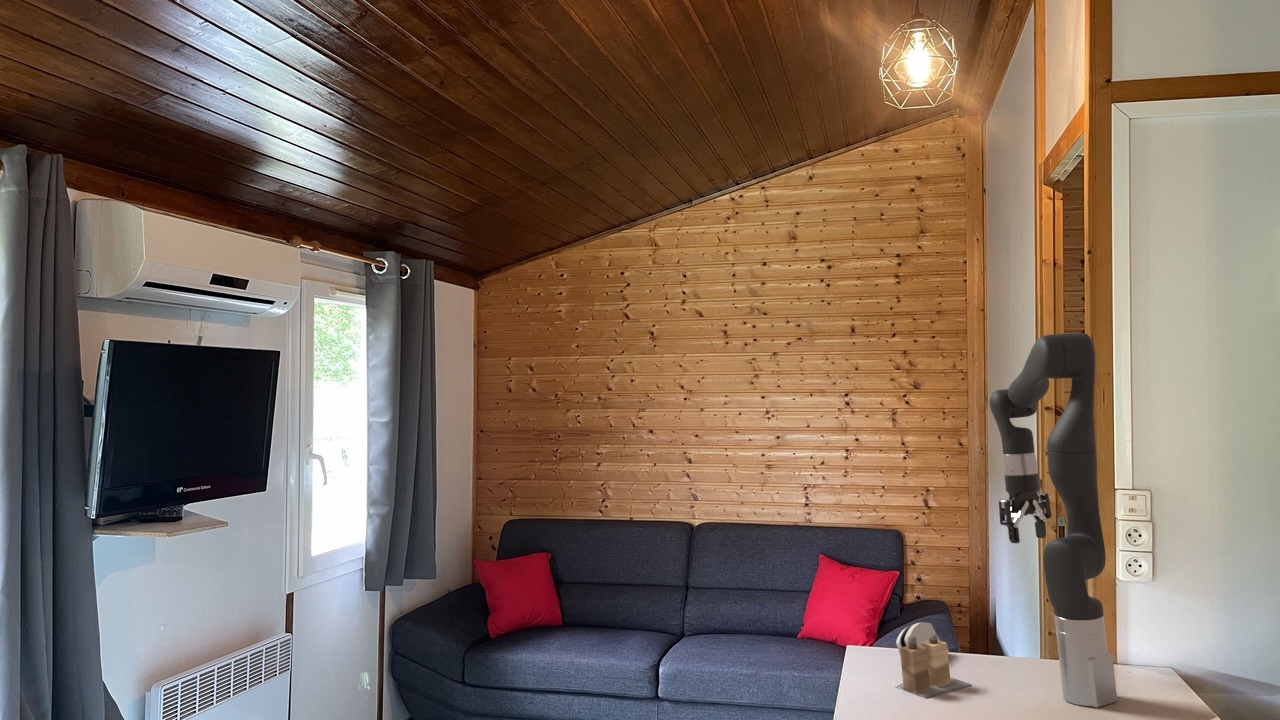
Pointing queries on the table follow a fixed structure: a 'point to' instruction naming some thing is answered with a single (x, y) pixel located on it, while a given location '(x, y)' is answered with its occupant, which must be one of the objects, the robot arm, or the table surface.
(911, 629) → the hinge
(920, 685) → the mount
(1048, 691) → the table surface
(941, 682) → the wooden peg block
